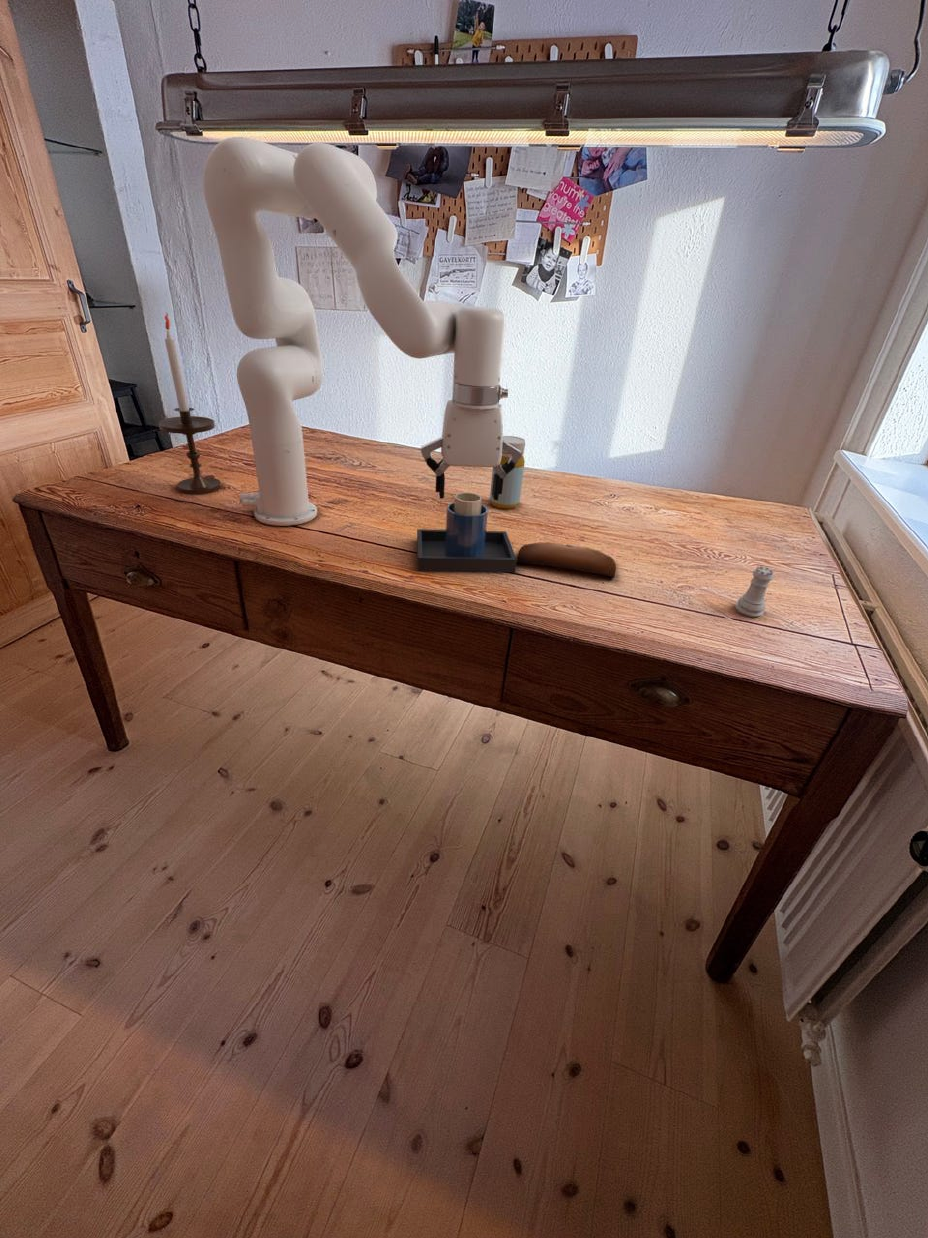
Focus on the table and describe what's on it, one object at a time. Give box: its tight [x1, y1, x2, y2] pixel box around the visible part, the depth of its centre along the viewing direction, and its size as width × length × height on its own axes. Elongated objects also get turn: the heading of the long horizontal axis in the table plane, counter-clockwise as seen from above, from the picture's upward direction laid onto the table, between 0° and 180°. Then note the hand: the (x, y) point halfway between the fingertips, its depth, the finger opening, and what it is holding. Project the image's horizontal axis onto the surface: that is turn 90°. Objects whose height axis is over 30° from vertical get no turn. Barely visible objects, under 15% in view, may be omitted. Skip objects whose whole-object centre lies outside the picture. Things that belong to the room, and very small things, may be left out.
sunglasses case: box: [516, 541, 617, 579], centre depth 102 cm, size 18×7×7 cm
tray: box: [416, 528, 517, 573], centre depth 103 cm, size 18×13×3 cm
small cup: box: [453, 492, 483, 516], centre depth 100 cm, size 5×5×10 cm
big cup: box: [445, 501, 489, 557], centre depth 101 cm, size 7×7×9 cm
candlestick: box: [158, 312, 222, 495], centre depth 115 cm, size 11×11×35 cm
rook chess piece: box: [735, 565, 775, 618], centre depth 91 cm, size 4×4×8 cm
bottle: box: [489, 435, 526, 510], centre depth 124 cm, size 7×7×15 cm
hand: (468, 496), depth 97 cm, fingers open, 9 cm apart
